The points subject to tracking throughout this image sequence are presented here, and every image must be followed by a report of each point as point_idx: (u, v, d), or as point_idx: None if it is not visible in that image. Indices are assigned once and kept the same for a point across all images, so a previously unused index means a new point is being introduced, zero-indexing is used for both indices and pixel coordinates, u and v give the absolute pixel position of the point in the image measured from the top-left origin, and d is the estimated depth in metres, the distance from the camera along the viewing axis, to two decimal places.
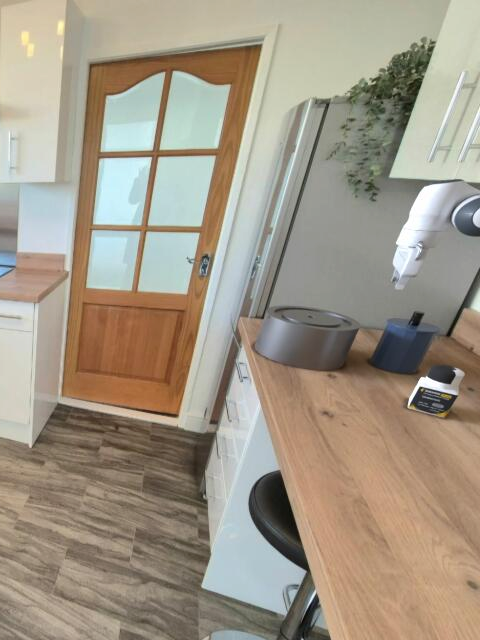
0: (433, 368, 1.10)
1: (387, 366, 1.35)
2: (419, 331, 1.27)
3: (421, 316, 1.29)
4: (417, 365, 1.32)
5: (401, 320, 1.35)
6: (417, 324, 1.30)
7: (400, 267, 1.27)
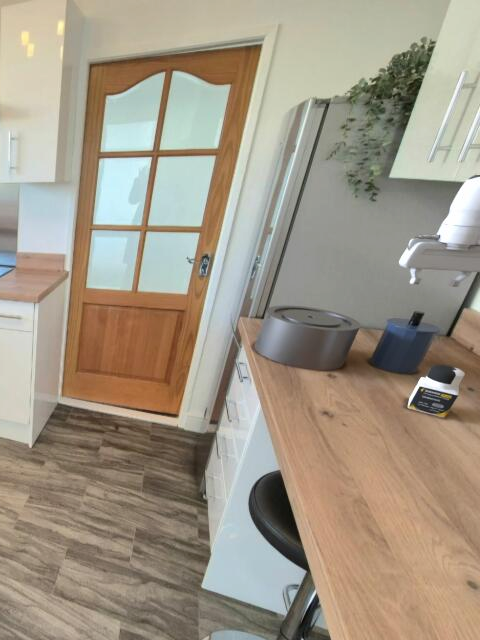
0: (433, 368, 1.10)
1: (387, 366, 1.35)
2: (419, 331, 1.27)
3: (421, 316, 1.29)
4: (417, 365, 1.32)
5: (401, 320, 1.35)
6: (417, 324, 1.30)
7: None
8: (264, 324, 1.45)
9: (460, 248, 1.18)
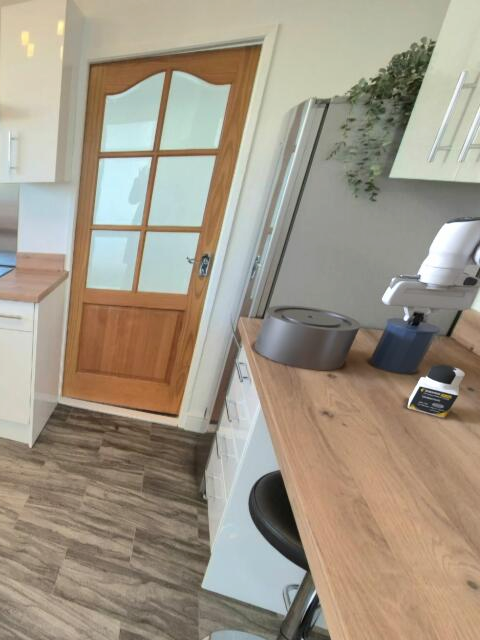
0: (433, 368, 1.10)
1: (387, 366, 1.35)
2: (419, 331, 1.27)
3: (421, 316, 1.29)
4: (417, 365, 1.32)
5: (401, 320, 1.35)
6: (417, 324, 1.30)
7: None
8: (264, 324, 1.45)
9: (439, 288, 1.23)
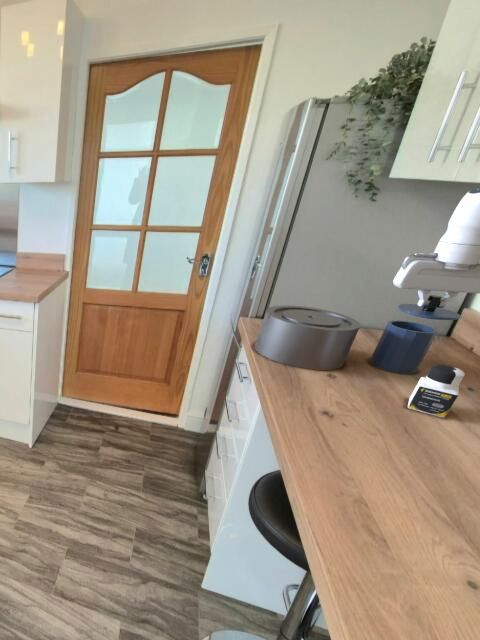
0: (433, 368, 1.10)
1: (387, 366, 1.35)
2: (436, 317, 1.12)
3: (437, 300, 1.14)
4: (417, 365, 1.32)
5: (414, 306, 1.20)
6: (433, 310, 1.15)
7: None
8: (264, 324, 1.45)
9: (459, 268, 1.08)
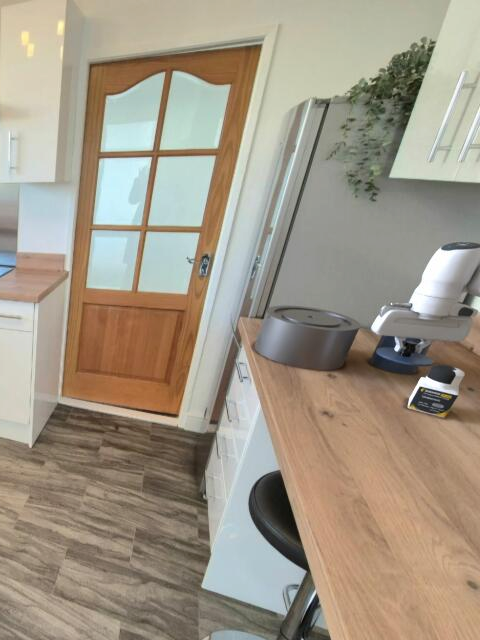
0: (433, 368, 1.10)
1: (387, 366, 1.35)
2: (411, 363, 1.18)
3: (413, 347, 1.20)
4: None
5: (392, 350, 1.26)
6: (409, 355, 1.21)
7: None
8: (264, 324, 1.45)
9: (432, 318, 1.14)
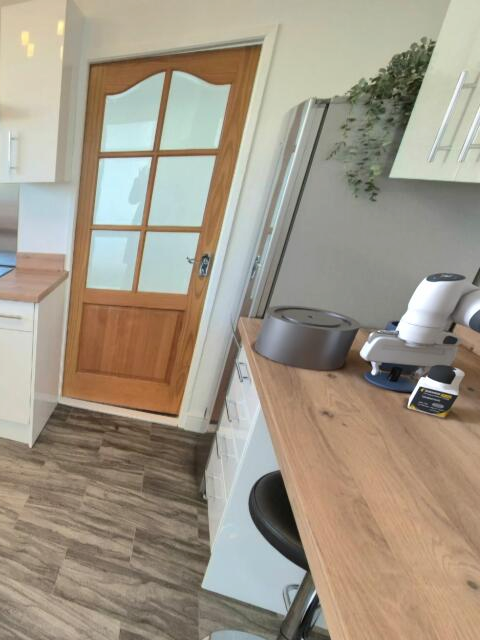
0: (433, 368, 1.10)
1: (387, 366, 1.35)
2: (397, 389, 1.22)
3: (399, 372, 1.24)
4: None
5: None
6: (395, 380, 1.25)
7: None
8: (264, 324, 1.45)
9: (418, 346, 1.18)
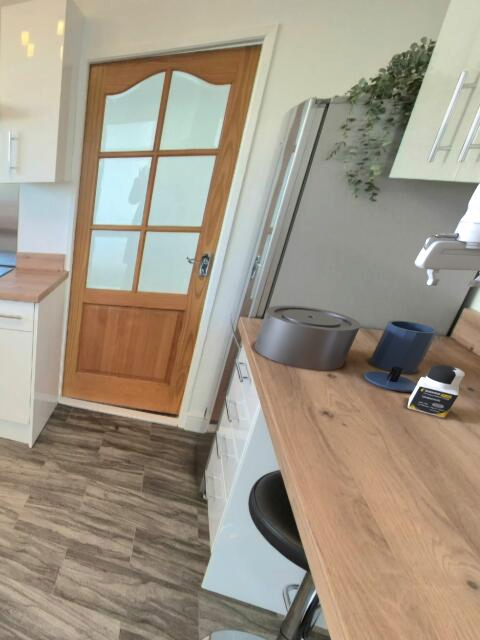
0: (433, 368, 1.10)
1: (387, 366, 1.35)
2: (397, 389, 1.22)
3: (399, 372, 1.24)
4: (417, 365, 1.32)
5: (380, 374, 1.30)
6: (395, 380, 1.25)
7: None
8: (264, 324, 1.45)
9: None
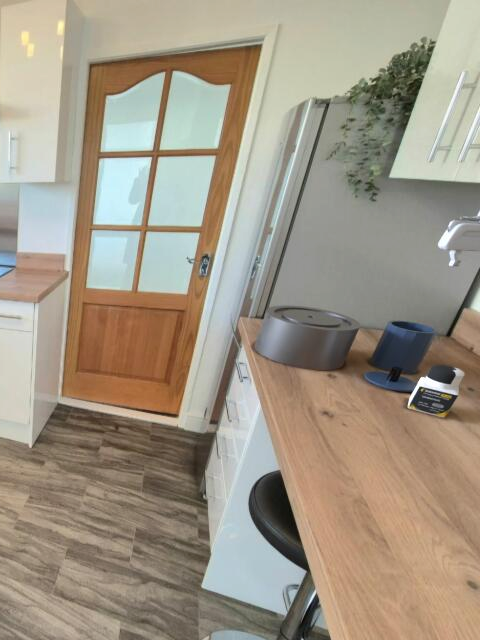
0: (433, 368, 1.10)
1: (387, 366, 1.35)
2: (397, 389, 1.22)
3: (399, 372, 1.24)
4: (417, 365, 1.32)
5: (380, 374, 1.30)
6: (395, 380, 1.25)
7: None
8: (264, 324, 1.45)
9: None
